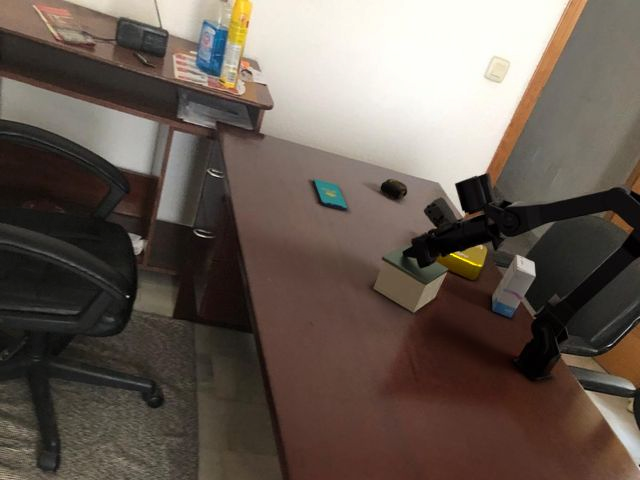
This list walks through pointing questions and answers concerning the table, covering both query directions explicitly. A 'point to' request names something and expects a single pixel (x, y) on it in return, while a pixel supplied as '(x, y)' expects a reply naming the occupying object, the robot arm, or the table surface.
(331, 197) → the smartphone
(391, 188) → the tape measure
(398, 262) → the lid
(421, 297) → the tin
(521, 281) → the ink box
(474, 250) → the element tile
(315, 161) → the table surface
